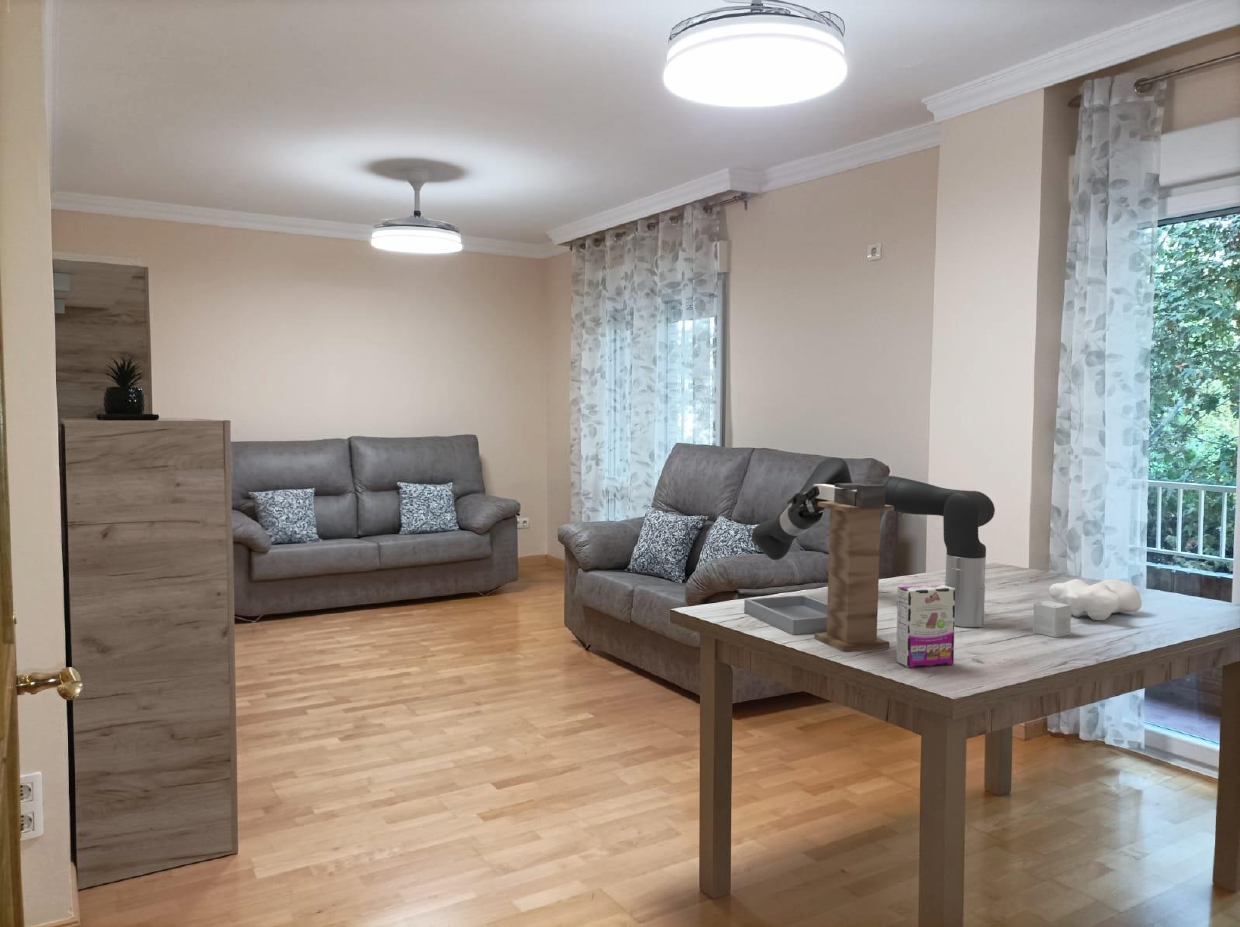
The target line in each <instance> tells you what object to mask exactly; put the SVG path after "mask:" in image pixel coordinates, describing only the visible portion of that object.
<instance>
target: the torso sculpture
mask: <svg viewBox="0 0 1240 927" xmlns="http://www.w3.org/2000/svg"><path fill="white" fill-rule="evenodd" d="M1048 593H1049V596H1050V597H1051V599H1053V600H1055V602H1056V601H1057V602H1058V603H1062V604H1067V605H1071V616H1074V617H1075V618H1080V617H1082V616H1084V615H1085V614H1087V615H1088V617H1089V618H1090V619H1092V620H1093V621H1095V620H1103V621H1105V620H1107V619H1108V618H1109V617H1110V616H1111V615H1112V614H1116V613H1133V612H1137V611H1138V610H1140V609H1141V608H1142V605H1143V604H1142V603H1143V602H1142V599H1141V595H1140V593H1139V591H1138V589H1137V587H1135V586H1134V585H1133V584H1131V582H1127V581H1123V580H1118V579H1117V580H1116V579H1110V578H1109V579H1108V578H1107V579H1104V580H1101V581H1100V582H1096V583H1094V584H1089V583H1086V582H1085V581H1083V580H1081V579H1078V578H1075V579H1071V580H1068V581H1066V582H1056V583H1052V584H1051V585H1050V586H1049V589H1048Z"/></svg>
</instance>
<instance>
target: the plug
mask: <svg viewBox="0 0 1240 927" xmlns="http://www.w3.org/2000/svg"><path fill="white" fill-rule="evenodd" d="M814 486H818V488H819V492H820V494H819V495H818V496H817V497H816V498H819V499H824V500H828V501H834V492H835V489H837V488H838V487H835V485H828V484H814ZM839 489H844V488H839ZM845 490H851V491H857V489H854V488H851V489H845Z"/></svg>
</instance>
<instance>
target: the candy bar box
mask: <svg viewBox="0 0 1240 927" xmlns="http://www.w3.org/2000/svg"><path fill="white" fill-rule="evenodd" d="M896 617H897V618H896V657H895V658H896V663H897V664H899V665H900V666H904V667H906V668H908V669H912V668H913V669H914V668H927V667H939V666H949V665H950V666H952V665H954V659H955V657H954V656H955V654H954V652H955V651H954V649H955V626H954V617H955V588H952V587H949V586H946V585H945V584H929V585H928V584H925V585H910V586H898V587H897V606H896Z"/></svg>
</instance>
